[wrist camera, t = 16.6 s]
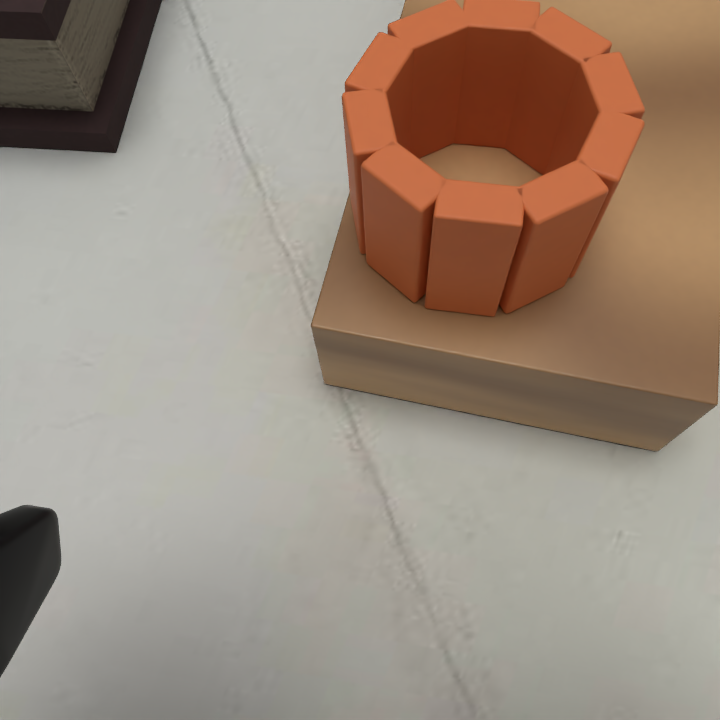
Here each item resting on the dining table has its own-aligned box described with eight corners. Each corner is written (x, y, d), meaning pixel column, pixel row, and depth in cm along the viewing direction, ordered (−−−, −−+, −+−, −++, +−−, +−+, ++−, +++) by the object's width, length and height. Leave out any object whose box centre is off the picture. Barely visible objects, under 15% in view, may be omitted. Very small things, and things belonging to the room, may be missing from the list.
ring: (591, 329, 17) (646, 239, 13) (331, 298, 18) (317, 203, 14) (597, 130, 20) (645, 8, 16) (369, 108, 20) (365, -13, 17)
